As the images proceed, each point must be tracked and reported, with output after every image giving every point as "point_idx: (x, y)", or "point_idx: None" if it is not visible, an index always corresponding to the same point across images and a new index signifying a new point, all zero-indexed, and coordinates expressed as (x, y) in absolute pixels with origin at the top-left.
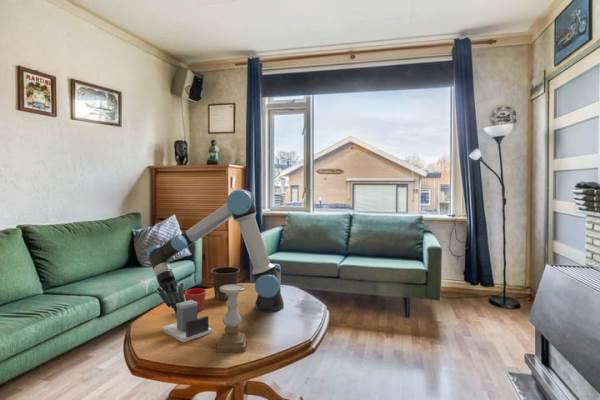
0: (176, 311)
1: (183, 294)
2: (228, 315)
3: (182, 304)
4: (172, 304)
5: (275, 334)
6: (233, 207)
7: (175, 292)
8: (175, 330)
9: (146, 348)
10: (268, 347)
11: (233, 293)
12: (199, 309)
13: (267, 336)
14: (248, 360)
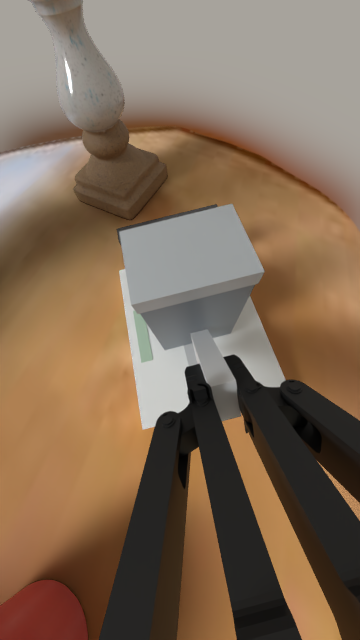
0: (236, 357)
1: (139, 496)
2: (101, 54)
3: (225, 233)
4: (272, 391)
5: (8, 198)
6: None
7: (255, 551)
8: (238, 320)
9: (340, 263)
10: (67, 159)
11: None
12: (30, 587)
13: (29, 196)
14: (130, 136)
